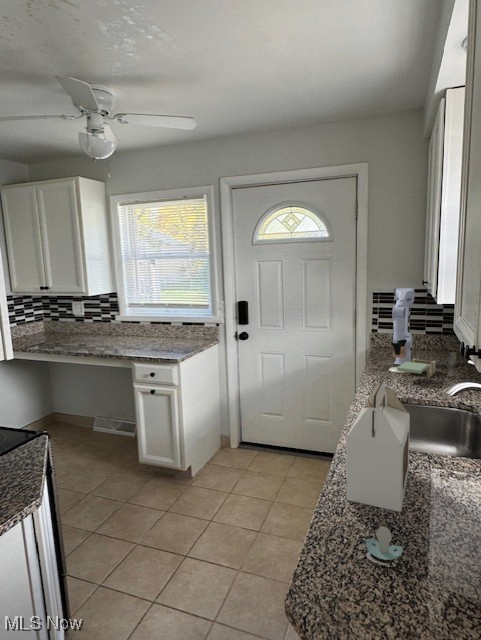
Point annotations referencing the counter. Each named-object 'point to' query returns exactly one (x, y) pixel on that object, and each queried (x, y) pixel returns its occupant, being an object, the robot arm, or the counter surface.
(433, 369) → the cubby
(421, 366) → the lid
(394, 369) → the plate
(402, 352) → the block
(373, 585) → the counter surface
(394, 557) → the pacifier
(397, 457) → the gable box
